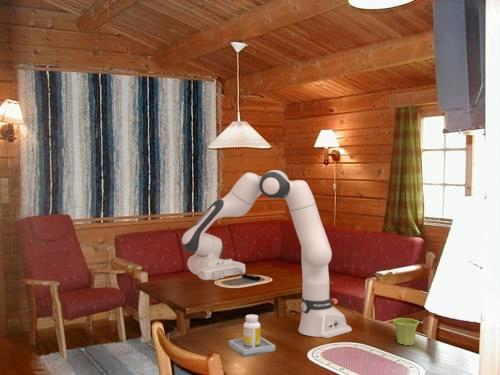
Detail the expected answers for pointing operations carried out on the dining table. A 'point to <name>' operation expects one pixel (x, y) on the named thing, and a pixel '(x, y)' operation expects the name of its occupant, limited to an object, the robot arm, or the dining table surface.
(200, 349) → the dining table surface
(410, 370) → the dining table surface
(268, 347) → the dish
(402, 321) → the plant pot
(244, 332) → the pill bottle
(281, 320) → the dining table surface
